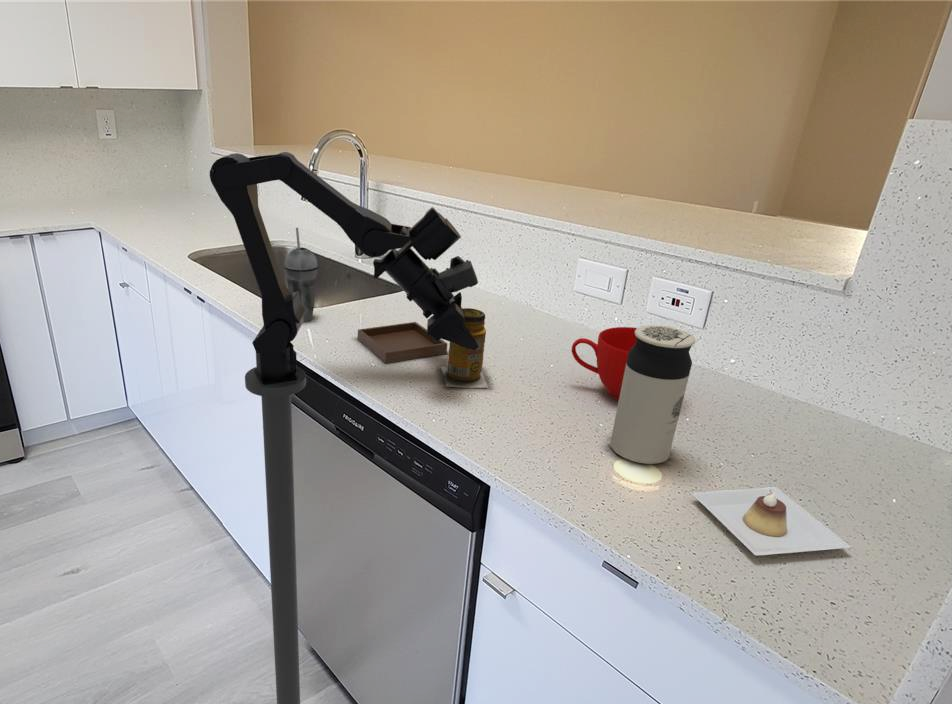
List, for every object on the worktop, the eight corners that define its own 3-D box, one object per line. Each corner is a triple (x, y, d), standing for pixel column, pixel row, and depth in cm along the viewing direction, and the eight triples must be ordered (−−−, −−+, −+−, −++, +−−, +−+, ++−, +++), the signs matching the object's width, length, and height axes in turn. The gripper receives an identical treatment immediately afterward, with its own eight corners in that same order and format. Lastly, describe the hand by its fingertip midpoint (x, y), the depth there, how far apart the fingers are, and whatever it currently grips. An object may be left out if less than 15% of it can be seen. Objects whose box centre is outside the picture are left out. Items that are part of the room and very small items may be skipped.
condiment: (480, 368, 119) (486, 306, 114) (488, 388, 111) (495, 323, 106) (440, 367, 119) (445, 305, 114) (446, 387, 111) (451, 322, 106)
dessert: (773, 493, 84) (784, 462, 82) (848, 555, 73) (862, 520, 71) (688, 499, 82) (697, 467, 80) (752, 563, 72) (764, 528, 70)
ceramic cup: (569, 370, 119) (577, 319, 115) (668, 386, 114) (680, 333, 109) (562, 399, 108) (571, 344, 104) (671, 418, 102) (685, 361, 98)
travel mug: (598, 447, 94) (621, 331, 87) (629, 431, 98) (653, 320, 91) (649, 472, 88) (677, 350, 81) (679, 454, 93) (709, 337, 85)
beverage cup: (325, 317, 143) (325, 226, 135) (305, 326, 137) (303, 232, 129) (299, 310, 146) (297, 222, 138) (278, 319, 141) (275, 227, 133)
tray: (385, 363, 120) (385, 352, 119) (357, 339, 131) (357, 329, 130) (446, 353, 125) (447, 343, 124) (414, 331, 136) (415, 321, 135)
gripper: (453, 260, 98) (519, 331, 102) (449, 233, 115) (505, 295, 119) (399, 307, 102) (464, 374, 105) (403, 274, 119) (459, 333, 122)
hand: (475, 341), depth 113 cm, fingers closed on condiment, 6 cm apart
